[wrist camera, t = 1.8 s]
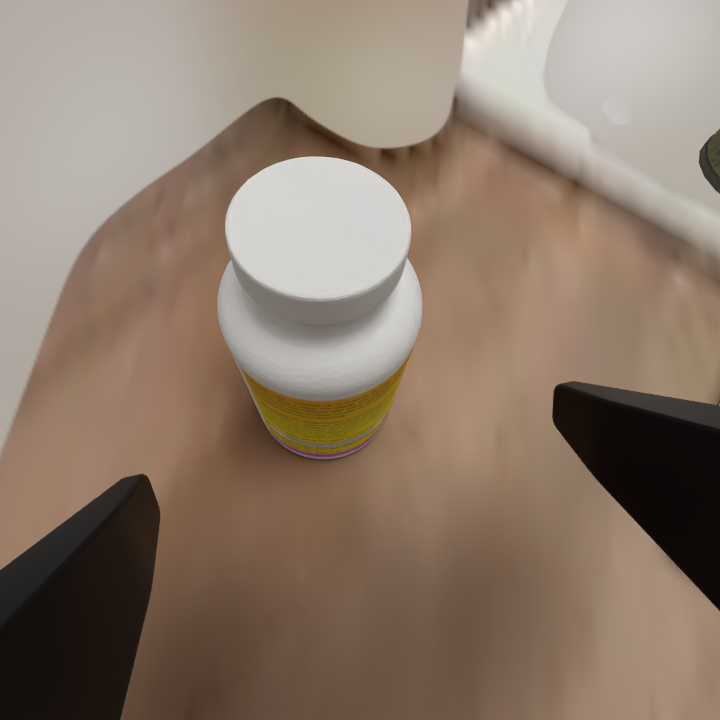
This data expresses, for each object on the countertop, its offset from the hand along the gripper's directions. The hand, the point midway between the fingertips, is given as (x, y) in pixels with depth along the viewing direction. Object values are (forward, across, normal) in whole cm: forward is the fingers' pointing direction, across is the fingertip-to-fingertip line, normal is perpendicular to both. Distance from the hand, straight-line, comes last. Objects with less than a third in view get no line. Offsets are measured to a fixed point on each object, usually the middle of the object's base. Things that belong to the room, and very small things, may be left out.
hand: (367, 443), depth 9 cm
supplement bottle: (+12, 0, +5) cm, 13 cm away
